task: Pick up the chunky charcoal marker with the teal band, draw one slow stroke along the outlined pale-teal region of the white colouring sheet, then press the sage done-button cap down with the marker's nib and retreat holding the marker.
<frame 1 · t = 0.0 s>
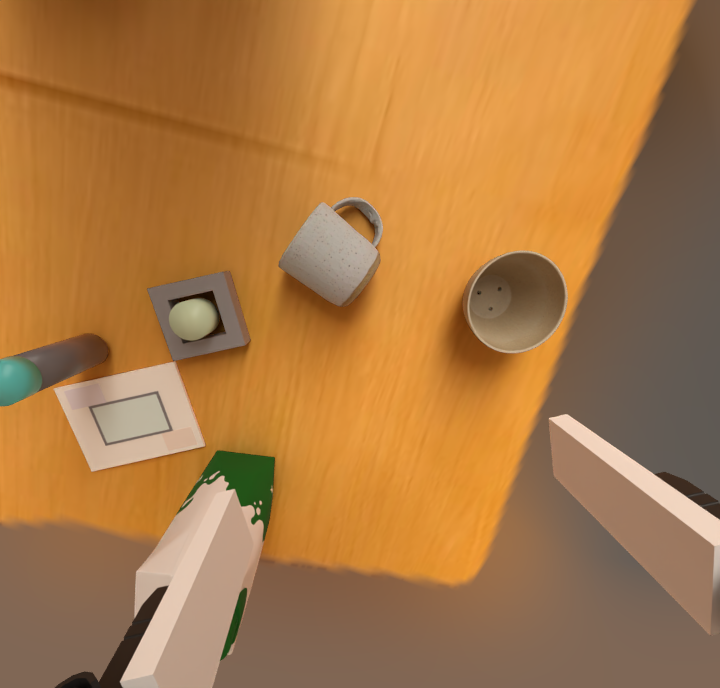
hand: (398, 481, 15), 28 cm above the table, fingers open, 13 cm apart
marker: (95, 347, 40), on the table
flower pot: (487, 295, 42), on the table
button cap: (195, 318, 37), point 3 cm above the table, slide at 0.0 cm
ceramic mug: (337, 246, 40), on the table
button housing: (205, 314, 40), on the table
sheet: (133, 417, 43), on the table
milk carton: (243, 476, 46), on the table
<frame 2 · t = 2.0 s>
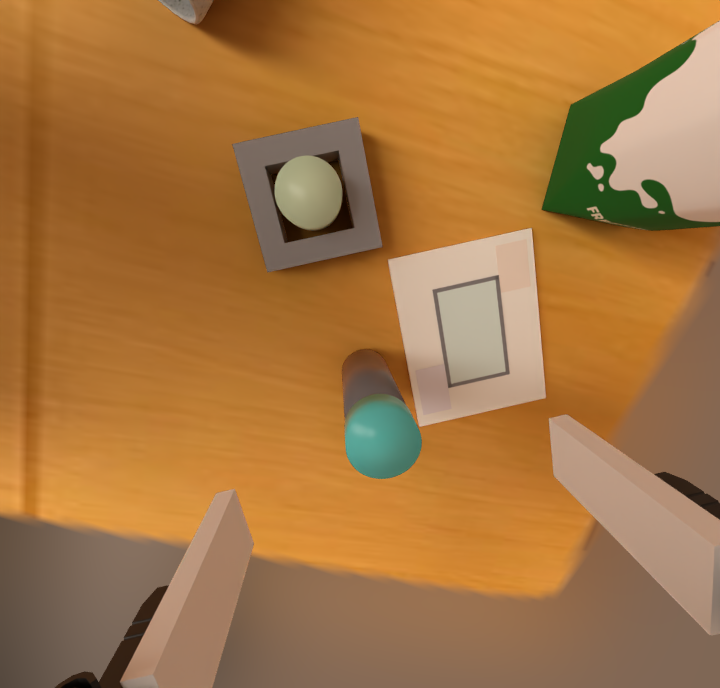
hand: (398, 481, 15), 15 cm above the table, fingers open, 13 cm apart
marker: (363, 368, 29), on the table
button cap: (310, 196, 23), point 3 cm above the table, slide at 0.0 cm
button housing: (313, 203, 26), on the table
sheet: (470, 332, 29), on the table
milk carton: (595, 170, 27), on the table
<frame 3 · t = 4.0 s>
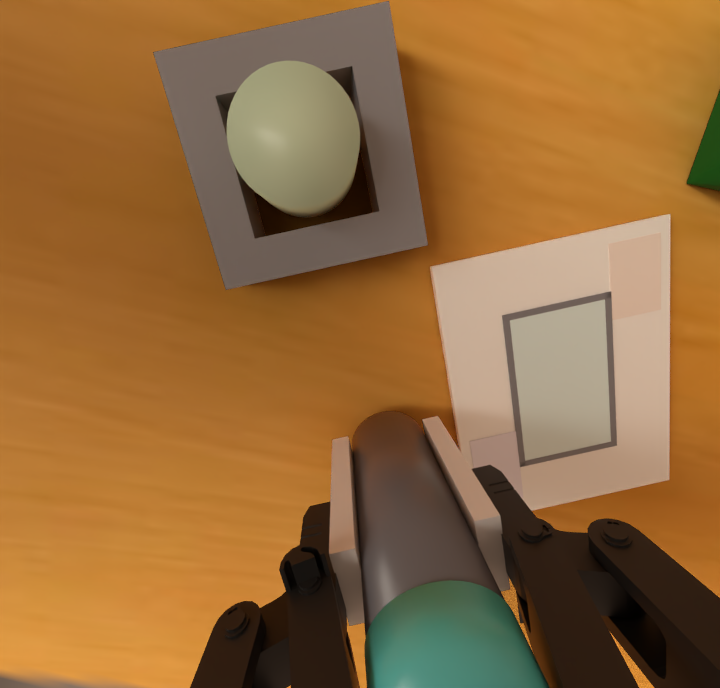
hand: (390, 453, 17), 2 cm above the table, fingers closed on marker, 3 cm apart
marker: (386, 437, 18), on the table, touching gripper
button cap: (299, 151, 12), point 3 cm above the table, slide at 0.0 cm
button housing: (307, 171, 15), on the table
sheet: (557, 381, 18), on the table
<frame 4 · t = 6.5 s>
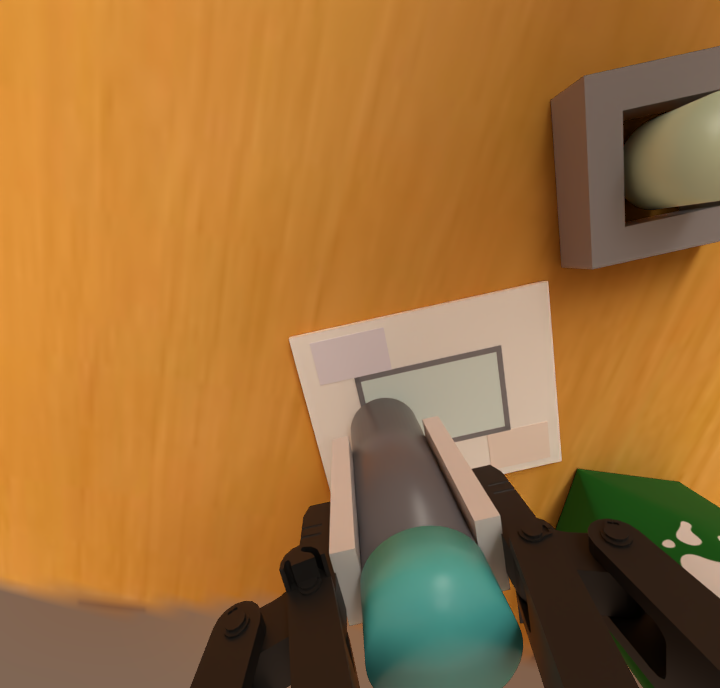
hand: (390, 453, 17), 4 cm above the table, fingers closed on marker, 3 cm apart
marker: (382, 422, 20), point 1 cm above the table, touching gripper
button cap: (689, 155, 15), point 3 cm above the table, slide at 0.0 cm
button housing: (633, 171, 18), on the table
sheet: (432, 401, 21), on the table
milk carton: (606, 517, 24), on the table
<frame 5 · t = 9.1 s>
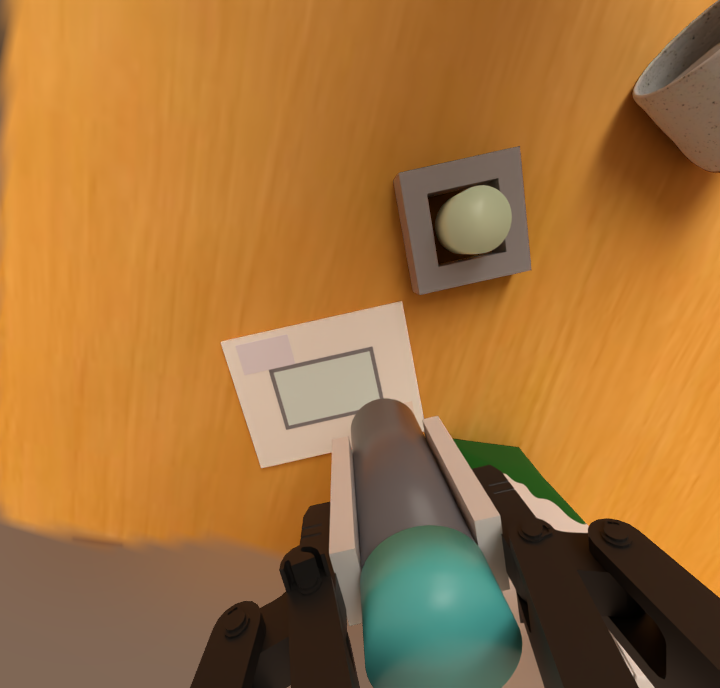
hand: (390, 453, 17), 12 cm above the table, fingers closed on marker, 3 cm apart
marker: (382, 423, 20), point 9 cm above the table, touching gripper
button cap: (471, 222, 23), point 3 cm above the table, slide at 0.0 cm
ceramic mug: (689, 90, 25), on the table
button housing: (456, 226, 26), on the table
sheet: (328, 387, 29), on the table
milk carton: (468, 475, 32), on the table
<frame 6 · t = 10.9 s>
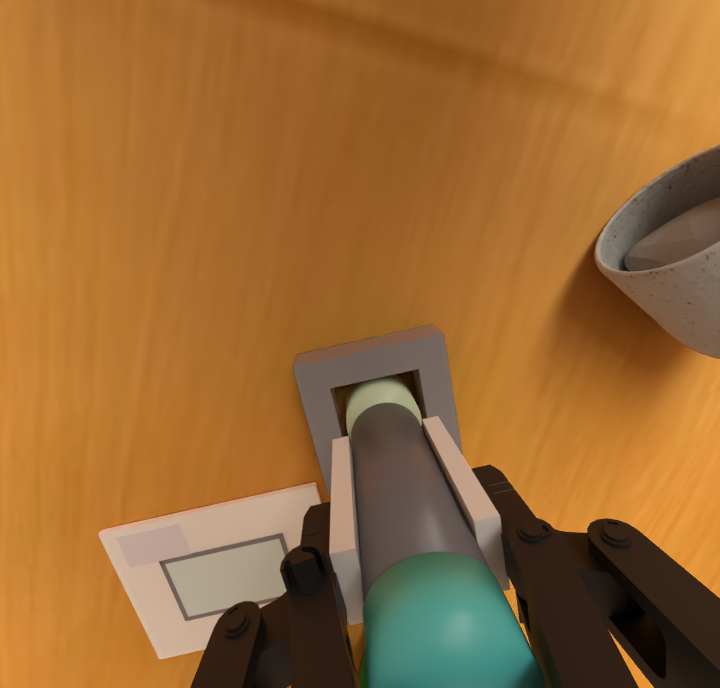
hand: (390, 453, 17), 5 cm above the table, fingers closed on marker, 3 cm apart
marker: (384, 427, 19), point 3 cm above the table, touching button cap, gripper
button cap: (381, 411, 20), point 1 cm above the table, slide at 1.5 cm, touching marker
ceramic mug: (667, 237, 21), on the table
button housing: (378, 401, 22), on the table
sheet: (234, 572, 24), on the table
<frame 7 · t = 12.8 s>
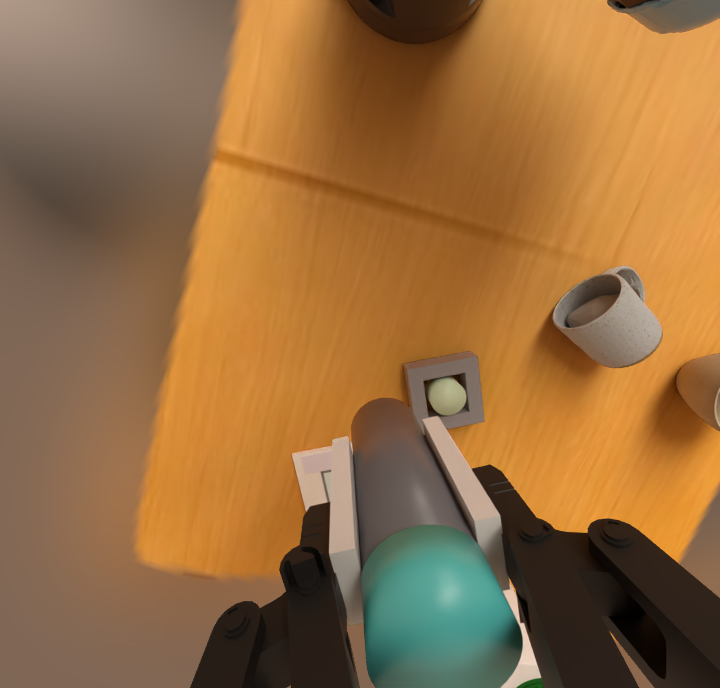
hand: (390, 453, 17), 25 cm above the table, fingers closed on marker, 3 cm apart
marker: (382, 422, 20), point 21 cm above the table, touching gripper
flower pot: (692, 376, 45), on the table
button cap: (444, 393, 41), point 2 cm above the table, slide at 1.4 cm
ceramic mug: (589, 307, 42), on the table
button housing: (440, 389, 43), on the table
sheet: (357, 481, 45), on the table
milk carton: (445, 536, 48), on the table
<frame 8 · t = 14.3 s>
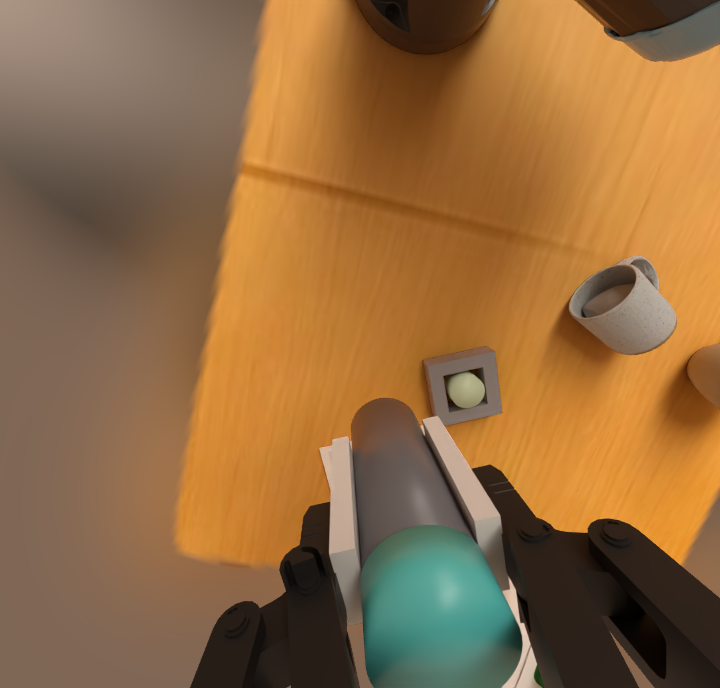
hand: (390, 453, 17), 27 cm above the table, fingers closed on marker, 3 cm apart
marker: (382, 422, 20), point 23 cm above the table, touching gripper
flower pot: (703, 364, 46), on the table
button cap: (463, 387, 43), point 2 cm above the table, slide at 1.4 cm
ceramic mug: (604, 297, 44), on the table
button housing: (459, 383, 45), on the table
sheet: (381, 472, 47), on the table
milk carton: (466, 523, 50), on the table
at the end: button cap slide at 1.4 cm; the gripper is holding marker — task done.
